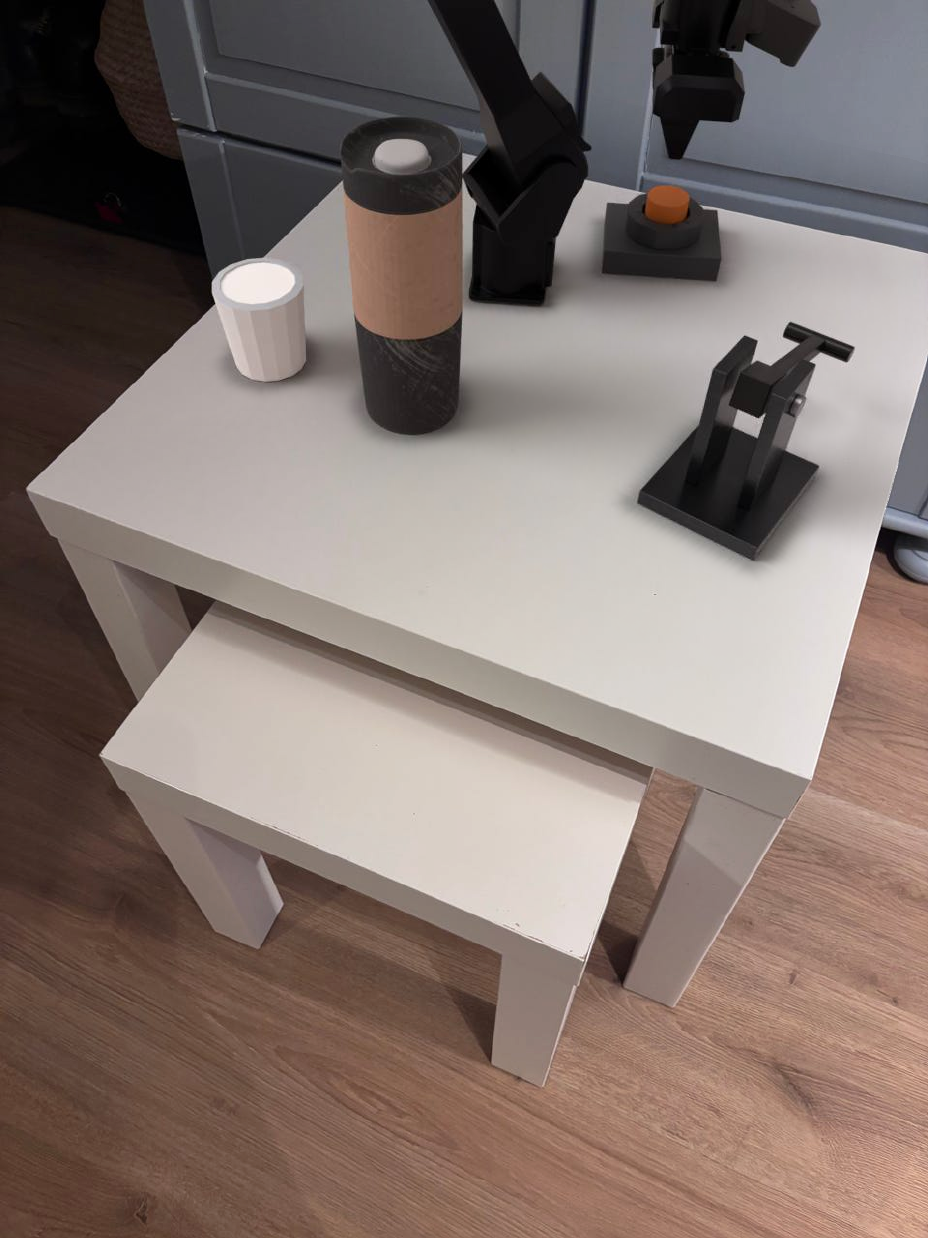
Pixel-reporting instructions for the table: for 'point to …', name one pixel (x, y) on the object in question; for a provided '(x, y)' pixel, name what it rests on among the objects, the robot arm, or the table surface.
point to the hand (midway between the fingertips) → (675, 157)
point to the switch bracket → (736, 463)
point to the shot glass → (263, 317)
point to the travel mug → (406, 267)
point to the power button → (667, 204)
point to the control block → (661, 243)
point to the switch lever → (782, 368)
